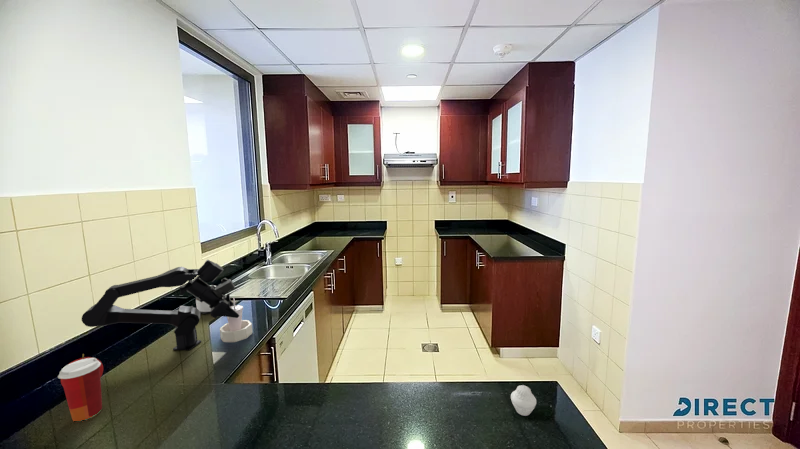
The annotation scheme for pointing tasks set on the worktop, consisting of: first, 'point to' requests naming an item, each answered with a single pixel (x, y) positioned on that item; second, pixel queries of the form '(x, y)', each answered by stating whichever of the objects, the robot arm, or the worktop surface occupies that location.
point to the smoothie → (235, 322)
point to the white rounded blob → (523, 400)
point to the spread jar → (203, 306)
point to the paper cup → (82, 388)
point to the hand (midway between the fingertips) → (238, 313)
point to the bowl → (236, 332)
